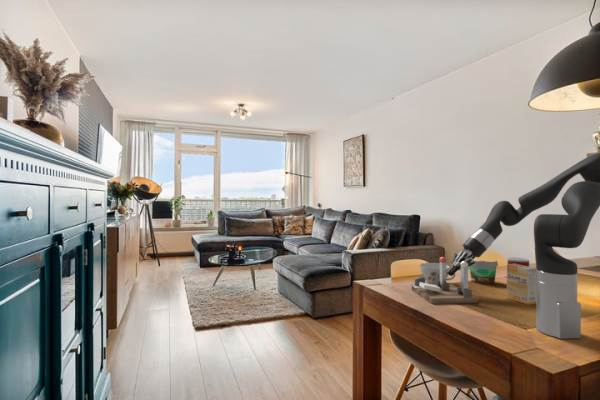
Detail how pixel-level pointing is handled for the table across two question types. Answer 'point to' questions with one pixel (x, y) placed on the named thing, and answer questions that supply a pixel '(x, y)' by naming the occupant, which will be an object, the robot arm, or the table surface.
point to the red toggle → (442, 270)
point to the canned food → (518, 261)
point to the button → (419, 280)
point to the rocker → (430, 287)
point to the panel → (445, 294)
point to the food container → (483, 272)
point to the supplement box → (521, 283)
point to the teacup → (433, 272)
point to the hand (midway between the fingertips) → (448, 274)
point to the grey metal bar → (464, 276)
